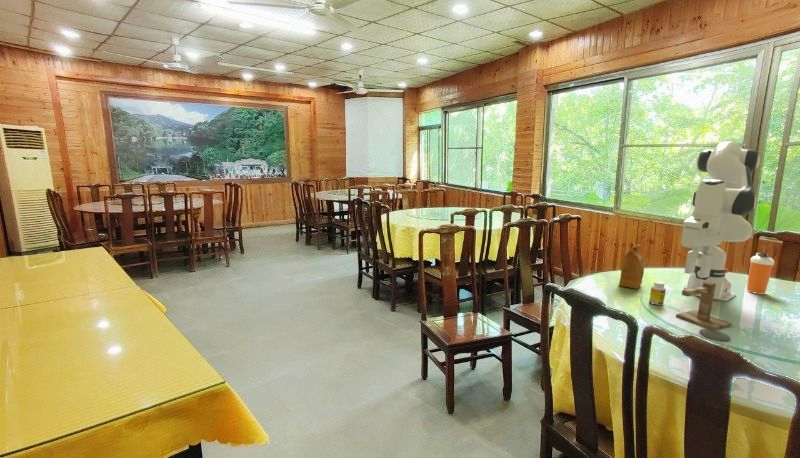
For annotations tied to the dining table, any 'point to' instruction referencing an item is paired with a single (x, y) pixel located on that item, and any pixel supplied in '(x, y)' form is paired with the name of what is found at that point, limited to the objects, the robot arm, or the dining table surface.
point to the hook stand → (703, 308)
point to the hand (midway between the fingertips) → (699, 257)
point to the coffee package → (632, 269)
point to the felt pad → (714, 335)
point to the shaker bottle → (759, 272)
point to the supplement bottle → (657, 293)
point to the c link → (704, 265)
